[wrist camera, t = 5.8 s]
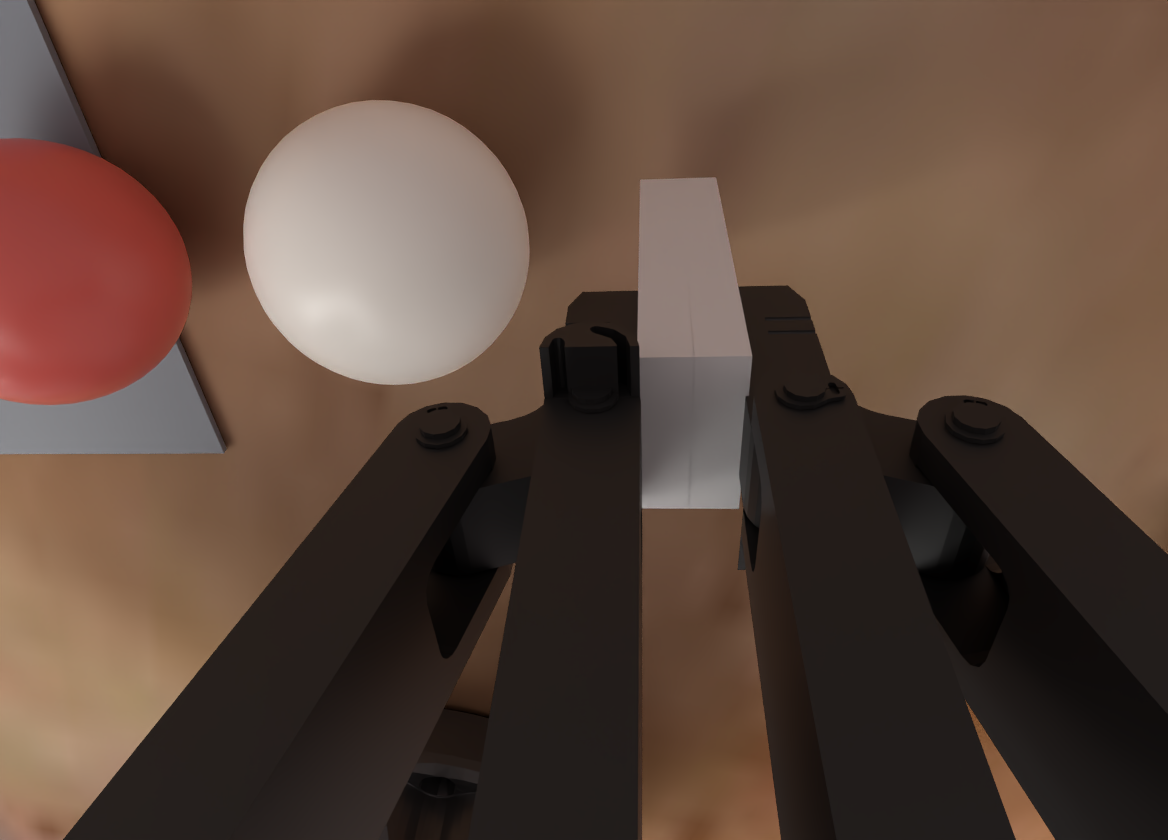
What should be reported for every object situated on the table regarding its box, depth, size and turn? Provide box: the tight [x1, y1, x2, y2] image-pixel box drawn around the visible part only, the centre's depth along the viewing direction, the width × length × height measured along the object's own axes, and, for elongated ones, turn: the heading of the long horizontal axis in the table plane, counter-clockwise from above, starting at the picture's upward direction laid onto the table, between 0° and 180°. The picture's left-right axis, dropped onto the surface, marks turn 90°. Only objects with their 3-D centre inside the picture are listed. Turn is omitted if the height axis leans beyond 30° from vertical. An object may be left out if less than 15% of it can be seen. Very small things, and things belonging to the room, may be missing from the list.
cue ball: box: [243, 100, 530, 385], centre depth 16 cm, size 6×6×6 cm
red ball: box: [0, 138, 192, 405], centre depth 16 cm, size 6×6×6 cm
